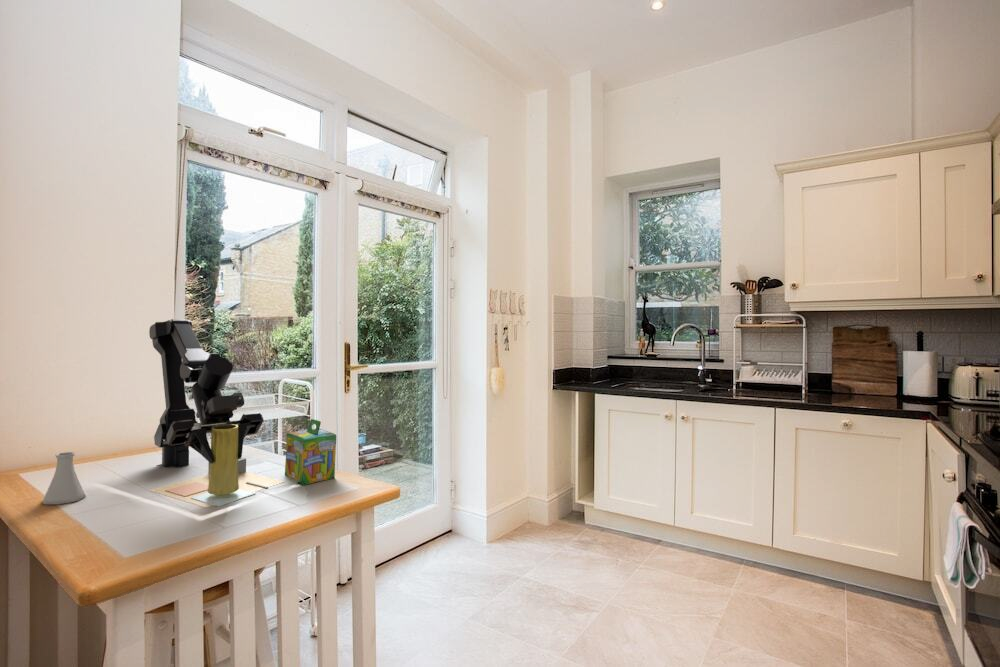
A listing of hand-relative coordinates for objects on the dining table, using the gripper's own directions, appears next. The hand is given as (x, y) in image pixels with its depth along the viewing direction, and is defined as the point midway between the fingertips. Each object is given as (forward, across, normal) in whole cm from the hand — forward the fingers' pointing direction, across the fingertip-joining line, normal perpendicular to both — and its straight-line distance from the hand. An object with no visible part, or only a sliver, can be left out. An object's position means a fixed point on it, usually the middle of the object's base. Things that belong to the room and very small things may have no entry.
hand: (226, 460), depth 112 cm
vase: (+4, 0, +6) cm, 7 cm away
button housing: (-6, +7, +18) cm, 21 cm away
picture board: (0, +2, +13) cm, 13 cm away
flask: (-10, -24, +23) cm, 35 cm away
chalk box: (+5, +21, +9) cm, 24 cm away
